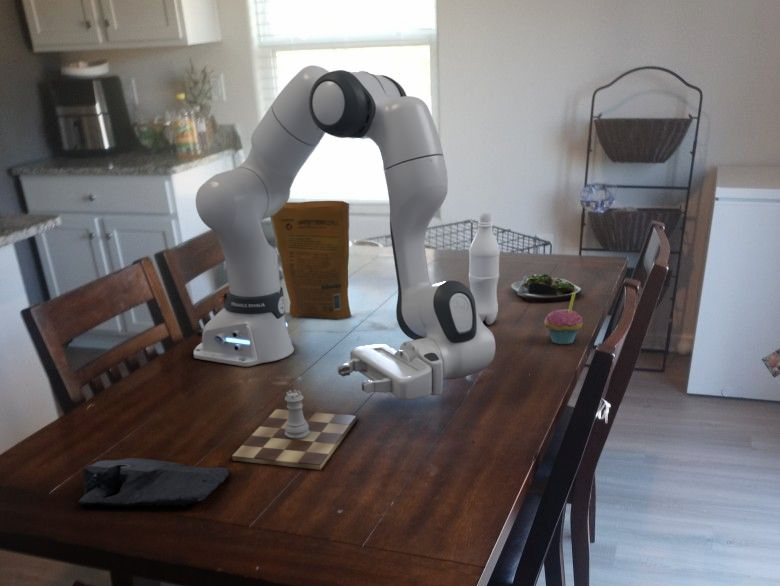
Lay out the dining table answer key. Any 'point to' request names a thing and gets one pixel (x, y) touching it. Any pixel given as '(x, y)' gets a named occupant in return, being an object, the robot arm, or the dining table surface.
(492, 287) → the water bottle
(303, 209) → the pancake mix bag
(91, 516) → the dining table surface
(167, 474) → the dark slate chunk
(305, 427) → the rook chess piece
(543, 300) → the salad plate
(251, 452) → the chessboard
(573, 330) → the cupcake
